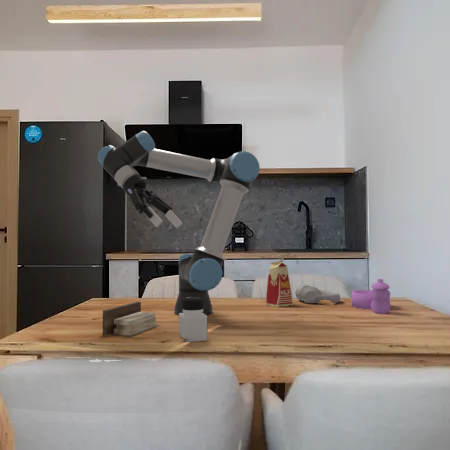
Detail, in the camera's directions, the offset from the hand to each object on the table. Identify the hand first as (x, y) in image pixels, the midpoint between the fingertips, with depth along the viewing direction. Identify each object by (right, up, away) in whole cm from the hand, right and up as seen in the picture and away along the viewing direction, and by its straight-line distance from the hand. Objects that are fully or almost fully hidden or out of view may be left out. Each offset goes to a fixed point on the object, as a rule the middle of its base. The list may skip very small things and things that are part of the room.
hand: (170, 225), depth 133 cm
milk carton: (+42, -36, +48) cm, 73 cm away
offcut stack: (-9, -32, -8) cm, 34 cm away
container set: (+80, -35, +37) cm, 95 cm away
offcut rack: (-10, -33, -7) cm, 36 cm away
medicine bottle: (+9, -33, -15) cm, 37 cm away
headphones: (+61, -36, +56) cm, 90 cm away
